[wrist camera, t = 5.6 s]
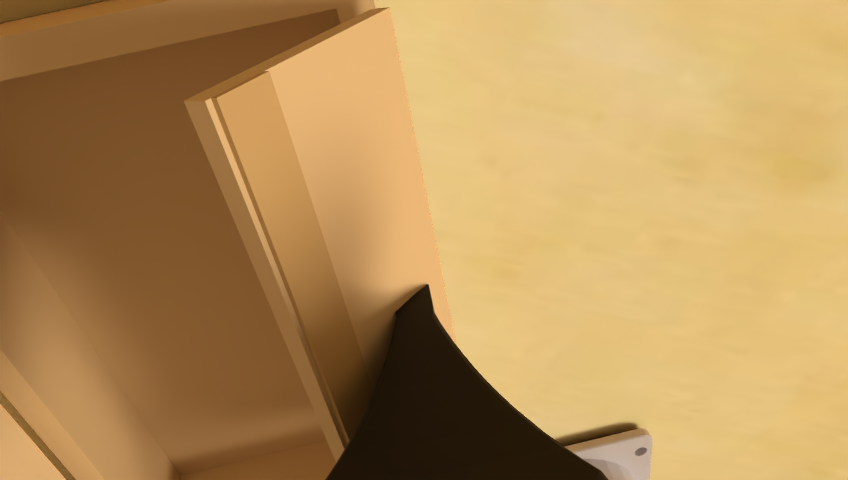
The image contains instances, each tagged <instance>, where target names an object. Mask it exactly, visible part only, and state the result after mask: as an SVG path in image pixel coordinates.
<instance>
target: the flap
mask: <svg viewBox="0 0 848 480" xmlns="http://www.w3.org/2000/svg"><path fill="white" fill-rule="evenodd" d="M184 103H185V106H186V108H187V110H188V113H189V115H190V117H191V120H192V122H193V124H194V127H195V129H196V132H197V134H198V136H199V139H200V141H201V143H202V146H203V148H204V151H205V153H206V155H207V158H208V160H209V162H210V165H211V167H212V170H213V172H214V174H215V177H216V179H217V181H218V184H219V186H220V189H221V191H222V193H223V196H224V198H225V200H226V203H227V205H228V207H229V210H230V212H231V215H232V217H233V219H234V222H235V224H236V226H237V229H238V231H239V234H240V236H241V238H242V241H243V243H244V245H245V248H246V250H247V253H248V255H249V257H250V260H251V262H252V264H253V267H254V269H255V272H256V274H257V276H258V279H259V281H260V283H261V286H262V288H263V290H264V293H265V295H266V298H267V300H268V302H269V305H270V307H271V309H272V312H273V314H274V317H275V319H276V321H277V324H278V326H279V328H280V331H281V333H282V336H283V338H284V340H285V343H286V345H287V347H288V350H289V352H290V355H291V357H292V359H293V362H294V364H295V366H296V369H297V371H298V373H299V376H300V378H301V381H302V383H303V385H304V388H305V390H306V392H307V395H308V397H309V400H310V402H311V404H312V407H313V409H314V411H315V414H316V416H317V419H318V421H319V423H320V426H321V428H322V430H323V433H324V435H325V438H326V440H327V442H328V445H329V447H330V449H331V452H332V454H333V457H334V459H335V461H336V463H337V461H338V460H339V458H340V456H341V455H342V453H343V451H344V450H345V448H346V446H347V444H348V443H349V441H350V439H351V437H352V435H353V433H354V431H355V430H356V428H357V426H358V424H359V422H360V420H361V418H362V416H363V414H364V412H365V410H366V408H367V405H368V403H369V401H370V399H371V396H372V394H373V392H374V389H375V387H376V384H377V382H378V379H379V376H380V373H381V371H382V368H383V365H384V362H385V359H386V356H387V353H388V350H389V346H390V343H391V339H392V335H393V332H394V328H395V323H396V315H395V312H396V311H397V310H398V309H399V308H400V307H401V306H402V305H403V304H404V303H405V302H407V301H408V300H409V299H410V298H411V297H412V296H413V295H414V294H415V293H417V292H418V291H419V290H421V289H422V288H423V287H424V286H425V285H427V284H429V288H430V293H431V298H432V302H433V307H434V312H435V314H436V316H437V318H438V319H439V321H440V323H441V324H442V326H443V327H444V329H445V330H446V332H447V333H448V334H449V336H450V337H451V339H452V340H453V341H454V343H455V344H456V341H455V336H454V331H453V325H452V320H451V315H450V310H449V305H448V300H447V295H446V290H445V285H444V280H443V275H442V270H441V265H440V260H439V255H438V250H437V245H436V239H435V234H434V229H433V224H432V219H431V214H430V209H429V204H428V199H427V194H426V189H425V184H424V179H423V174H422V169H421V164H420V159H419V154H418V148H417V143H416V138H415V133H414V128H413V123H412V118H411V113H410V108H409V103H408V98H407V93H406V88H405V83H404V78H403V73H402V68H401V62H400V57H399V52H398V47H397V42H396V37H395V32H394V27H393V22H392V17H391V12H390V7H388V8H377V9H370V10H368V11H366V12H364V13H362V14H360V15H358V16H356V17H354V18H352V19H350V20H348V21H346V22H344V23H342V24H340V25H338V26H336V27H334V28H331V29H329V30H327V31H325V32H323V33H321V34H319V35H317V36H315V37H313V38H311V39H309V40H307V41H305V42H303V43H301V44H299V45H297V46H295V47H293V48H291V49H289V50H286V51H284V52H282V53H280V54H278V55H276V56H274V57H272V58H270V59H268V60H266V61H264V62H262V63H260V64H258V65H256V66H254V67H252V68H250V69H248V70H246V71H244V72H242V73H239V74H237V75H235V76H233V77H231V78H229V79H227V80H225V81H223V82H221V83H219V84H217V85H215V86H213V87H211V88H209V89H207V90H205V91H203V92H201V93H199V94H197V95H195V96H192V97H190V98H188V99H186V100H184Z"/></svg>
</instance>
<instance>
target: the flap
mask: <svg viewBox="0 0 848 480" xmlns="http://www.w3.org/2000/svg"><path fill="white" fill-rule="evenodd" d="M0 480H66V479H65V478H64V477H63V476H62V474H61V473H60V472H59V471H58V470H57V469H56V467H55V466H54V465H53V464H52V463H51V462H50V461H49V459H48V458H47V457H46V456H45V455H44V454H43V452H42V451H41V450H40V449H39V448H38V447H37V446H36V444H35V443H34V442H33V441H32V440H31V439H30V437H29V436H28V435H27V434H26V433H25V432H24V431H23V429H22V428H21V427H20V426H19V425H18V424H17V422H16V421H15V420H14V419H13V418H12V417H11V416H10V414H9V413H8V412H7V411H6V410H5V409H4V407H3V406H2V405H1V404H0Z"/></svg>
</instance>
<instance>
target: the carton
mask: <svg viewBox="0 0 848 480" xmlns="http://www.w3.org/2000/svg"><path fill="white" fill-rule="evenodd" d="M370 9H375V5H374V0H108V1H103V2H98V3H94V4H89V5H84V6H80V7H75V8H70V9H66V10H61V11H56V12H51V13H47V14H42V15H37V16H33V17H28V18H23V19H19V20H14V21H9V22H5V23H0V391H1V392H2V393H3V395H4V396H5V397H6V398H7V399H8V400H9V402H10V403H11V404H12V405H13V406H14V408H15V409H16V410H17V411H18V412H19V413H20V415H21V416H22V417H23V418H24V419H25V420H26V422H27V423H28V424H29V425H30V426H31V428H32V429H33V430H34V431H35V432H36V433H37V435H38V436H39V437H40V438H41V439H42V440H43V442H44V443H45V444H46V445H47V446H48V448H49V449H50V450H51V451H52V452H53V453H54V455H55V456H56V457H57V458H58V459H59V460H60V462H61V463H62V464H63V465H64V466H65V468H66V469H67V470H68V471H69V472H70V473H71V475H72V476H73V477H74V478H75V479H76V480H325V479H326V478H327V476H328V475H329V473H330V472H331V470H332V469H333V467H334V466H335V464H336V461H335V459H334V457H333V454H332V452H331V449H330V447H329V445H328V442H327V440H326V438H325V435H324V433H323V430H322V428H321V426H320V423H319V421H318V419H317V416H316V414H315V411H314V409H313V407H312V404H311V402H310V400H309V397H308V395H307V392H306V390H305V388H304V385H303V383H302V381H301V378H300V376H299V373H298V371H297V369H296V366H295V364H294V362H293V359H292V357H291V355H290V352H289V350H288V347H287V345H286V343H285V340H284V338H283V336H282V333H281V331H280V328H279V326H278V324H277V321H276V319H275V317H274V314H273V312H272V309H271V307H270V305H269V302H268V300H267V298H266V295H265V293H264V290H263V288H262V286H261V283H260V281H259V279H258V276H257V274H256V272H255V269H254V267H253V264H252V262H251V260H250V257H249V255H248V253H247V250H246V248H245V245H244V243H243V241H242V238H241V236H240V234H239V231H238V229H237V226H236V224H235V222H234V219H233V217H232V215H231V212H230V210H229V207H228V205H227V203H226V200H225V198H224V196H223V193H222V191H221V189H220V186H219V184H218V181H217V179H216V177H215V174H214V172H213V170H212V167H211V165H210V162H209V160H208V158H207V155H206V153H205V151H204V148H203V146H202V143H201V141H200V139H199V136H198V134H197V132H196V129H195V127H194V124H193V122H192V120H191V117H190V115H189V113H188V110H187V108H186V106H185V103H184V100H186V99H188V98H190V97H192V96H195V95H197V94H199V93H201V92H203V91H205V90H207V89H209V88H211V87H213V86H215V85H217V84H219V83H221V82H223V81H225V80H227V79H229V78H231V77H233V76H235V75H237V74H239V73H242V72H244V71H246V70H248V69H250V68H252V67H254V66H256V65H258V64H260V63H262V62H264V61H266V60H268V59H270V58H272V57H274V56H276V55H278V54H280V53H282V52H284V51H286V50H289V49H291V48H293V47H295V46H297V45H299V44H301V43H303V42H305V41H307V40H309V39H311V38H313V37H315V36H317V35H319V34H321V33H323V32H325V31H327V30H329V29H331V28H334V27H336V26H338V25H340V24H342V23H344V22H346V21H348V20H350V19H352V18H354V17H356V16H358V15H360V14H362V13H364V12H366V11H368V10H370Z"/></svg>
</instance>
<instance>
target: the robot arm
mask: <svg viewBox="0 0 848 480" xmlns="http://www.w3.org/2000/svg"><path fill="white" fill-rule="evenodd" d="M395 315H396V323H395V328H394V332H393V335H392V339H391V343H390V346H389V350H388V353H387V356H386V359H385V362H384V365H383V368H382V371H381V373H380V376H379V379H378V382H377V384H376V387H375V389H374V392H373V394H372V396H371V399H370V401H369V403H368V405H367V408H366V410H365V412H364V414H363V416H362V418H361V420H360V422H359V424H358V426H357V428H356V430H355V431H354V433H353V435H352V437H351V439H350V441H349V443H348V444H347V446H346V448H345V450H344V451H343V453H342V455H341V456H340V458H339V460H338V461H337V463H336V464H335V466H334V467H333V469H332V470H331V472H330V473H329V475H328V476H327V478H326V479H325V480H650V469H651V454H652V437H651V435H650V434H649V432H648V431H647V430H646V429H635V430H630V431H626V432H622V433H618V434H614V435H610V436H606V437H602V438H598V439H593V440H589V441H585V442H581V443H577V444H573V445H569V446H565V447H564V446H563V445H561V444H560V443H558V442H557V441H556V440H554V439H553V438H552V437H550V436H549V435H547V434H546V433H545V432H543V431H542V430H541V429H540V428H538V427H537V426H536V425H535V424H534V423H532V422H531V421H530V420H529V419H527V418H526V417H525V416H524V415H523V414H521V413H520V412H519V411H518V410H517V409H515V408H514V407H513V406H512V405H511V404H510V403H509V402H508V401H507V400H506V399H504V398H503V397H502V396H501V395H500V394H499V393H498V392H497V391H496V390H495V389H494V388H493V387H492V386H491V385H490V384H489V383H488V382H487V381H486V380H485V379H484V378H483V377H482V375H481V374H480V373H479V372H478V371H477V370H476V369H475V368H474V367H473V365H472V364H471V363H470V362H469V361H468V359H467V358H466V357H465V356H464V355H463V353H462V352H461V351H460V349H459V348H458V347H457V346H456V344H455V343H454V341H453V340H452V339H451V337H450V336H449V334H448V333H447V332H446V330H445V329H444V327H443V326H442V324H441V323H440V321H439V319H438V318H437V316H436V314H435V312H434V307H433V302H432V298H431V293H430V288H429V284H427V285H425V286H424V287H423V288H422V289H421V290H419V291H418V292H417V293H415V294H414V295H413V296H412V297H411V298H410V299H409V300H408V301H407V302H405V303H404V304H403V305H402V306H401V307H400V308H399V309H398V310H397V311H396V312H395Z"/></svg>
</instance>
